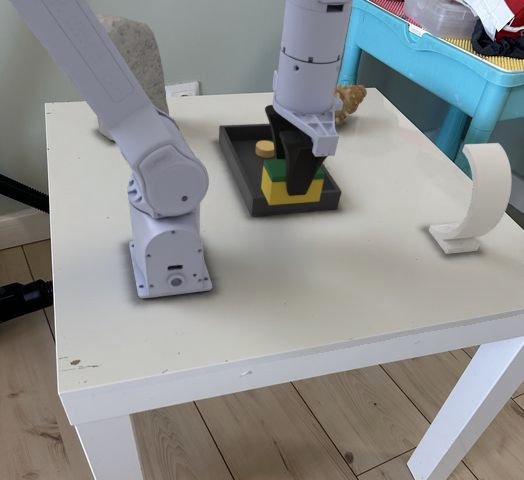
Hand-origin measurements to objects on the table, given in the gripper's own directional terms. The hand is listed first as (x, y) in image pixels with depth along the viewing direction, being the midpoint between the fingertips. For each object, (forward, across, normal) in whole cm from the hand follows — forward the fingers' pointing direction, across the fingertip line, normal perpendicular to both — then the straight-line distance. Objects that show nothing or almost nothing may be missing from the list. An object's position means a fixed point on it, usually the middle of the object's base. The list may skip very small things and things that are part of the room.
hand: (291, 183), depth 56 cm
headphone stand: (+8, -4, -22) cm, 24 cm away
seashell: (+8, +30, -17) cm, 36 cm away
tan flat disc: (+7, +20, -3) cm, 22 cm away
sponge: (+1, 0, 0) cm, 1 cm away
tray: (+8, +15, -3) cm, 17 cm away
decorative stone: (+8, +30, +15) cm, 34 cm away
